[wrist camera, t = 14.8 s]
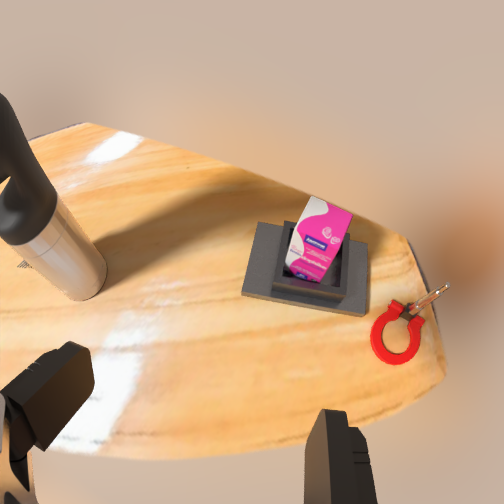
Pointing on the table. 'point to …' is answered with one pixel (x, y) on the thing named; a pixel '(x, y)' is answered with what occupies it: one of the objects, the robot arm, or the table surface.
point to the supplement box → (316, 240)
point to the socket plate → (298, 290)
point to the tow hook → (414, 326)
